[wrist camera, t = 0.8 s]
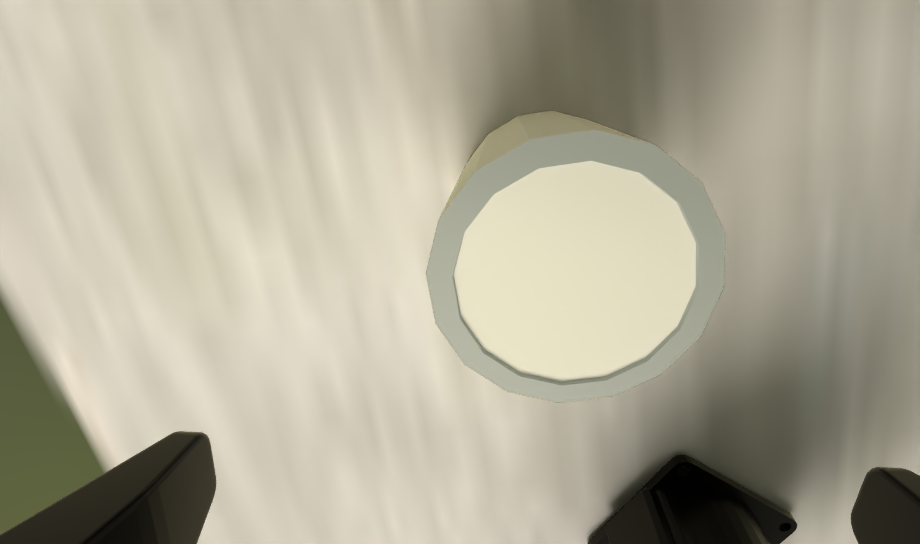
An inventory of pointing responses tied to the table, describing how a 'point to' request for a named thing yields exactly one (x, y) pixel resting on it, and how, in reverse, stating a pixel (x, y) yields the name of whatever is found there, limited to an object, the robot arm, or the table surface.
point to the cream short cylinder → (573, 259)
